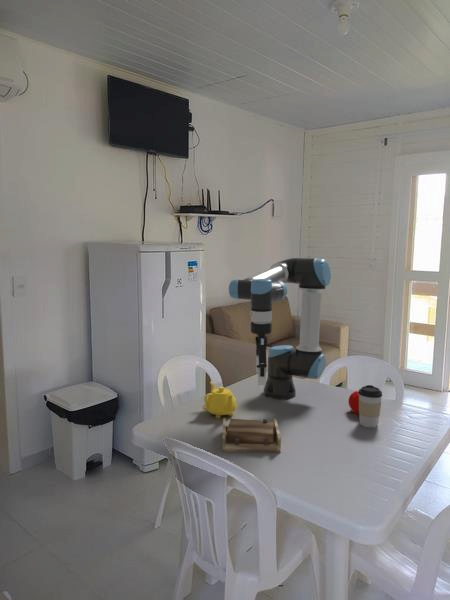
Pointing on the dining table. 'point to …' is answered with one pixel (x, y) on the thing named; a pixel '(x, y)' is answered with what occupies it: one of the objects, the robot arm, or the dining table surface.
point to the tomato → (354, 402)
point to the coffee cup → (369, 405)
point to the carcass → (252, 447)
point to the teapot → (220, 401)
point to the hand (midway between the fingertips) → (260, 378)
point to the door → (250, 431)
